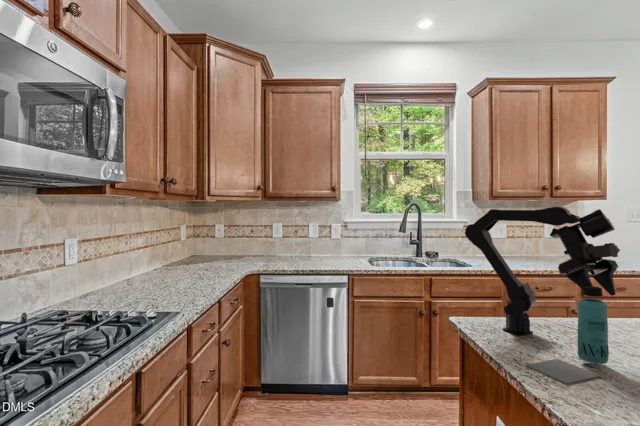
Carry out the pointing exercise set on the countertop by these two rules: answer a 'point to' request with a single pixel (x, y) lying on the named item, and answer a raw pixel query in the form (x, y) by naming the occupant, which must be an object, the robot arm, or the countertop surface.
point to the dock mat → (563, 371)
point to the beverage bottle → (593, 327)
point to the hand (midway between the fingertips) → (603, 295)
